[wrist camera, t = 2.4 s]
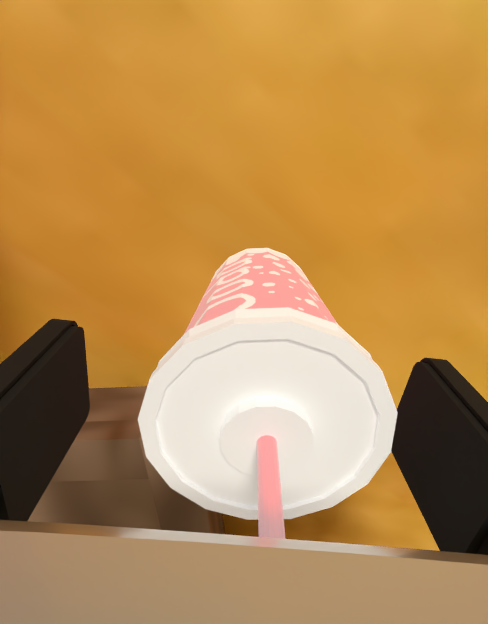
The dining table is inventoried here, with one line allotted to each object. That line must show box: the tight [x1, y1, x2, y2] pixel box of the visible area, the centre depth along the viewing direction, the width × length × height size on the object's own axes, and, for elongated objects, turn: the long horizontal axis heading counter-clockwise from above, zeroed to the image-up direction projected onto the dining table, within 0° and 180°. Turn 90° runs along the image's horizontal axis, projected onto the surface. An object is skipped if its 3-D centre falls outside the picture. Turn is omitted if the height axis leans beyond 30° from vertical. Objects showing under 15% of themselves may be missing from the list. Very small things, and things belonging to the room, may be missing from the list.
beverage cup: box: [138, 248, 398, 539], centre depth 10 cm, size 6×6×14 cm
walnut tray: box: [28, 386, 224, 534], centre depth 20 cm, size 14×14×4 cm
